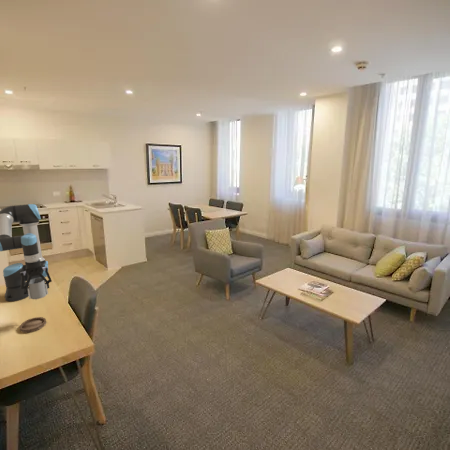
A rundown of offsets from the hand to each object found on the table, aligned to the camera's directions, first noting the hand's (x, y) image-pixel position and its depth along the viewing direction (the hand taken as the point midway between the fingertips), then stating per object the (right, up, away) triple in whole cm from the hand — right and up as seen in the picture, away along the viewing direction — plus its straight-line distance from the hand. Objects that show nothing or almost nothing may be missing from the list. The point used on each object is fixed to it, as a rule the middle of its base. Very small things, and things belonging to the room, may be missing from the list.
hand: (38, 295), depth 175 cm
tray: (-1, -17, -4) cm, 18 cm away
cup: (0, 0, 0) cm, 1 cm away
